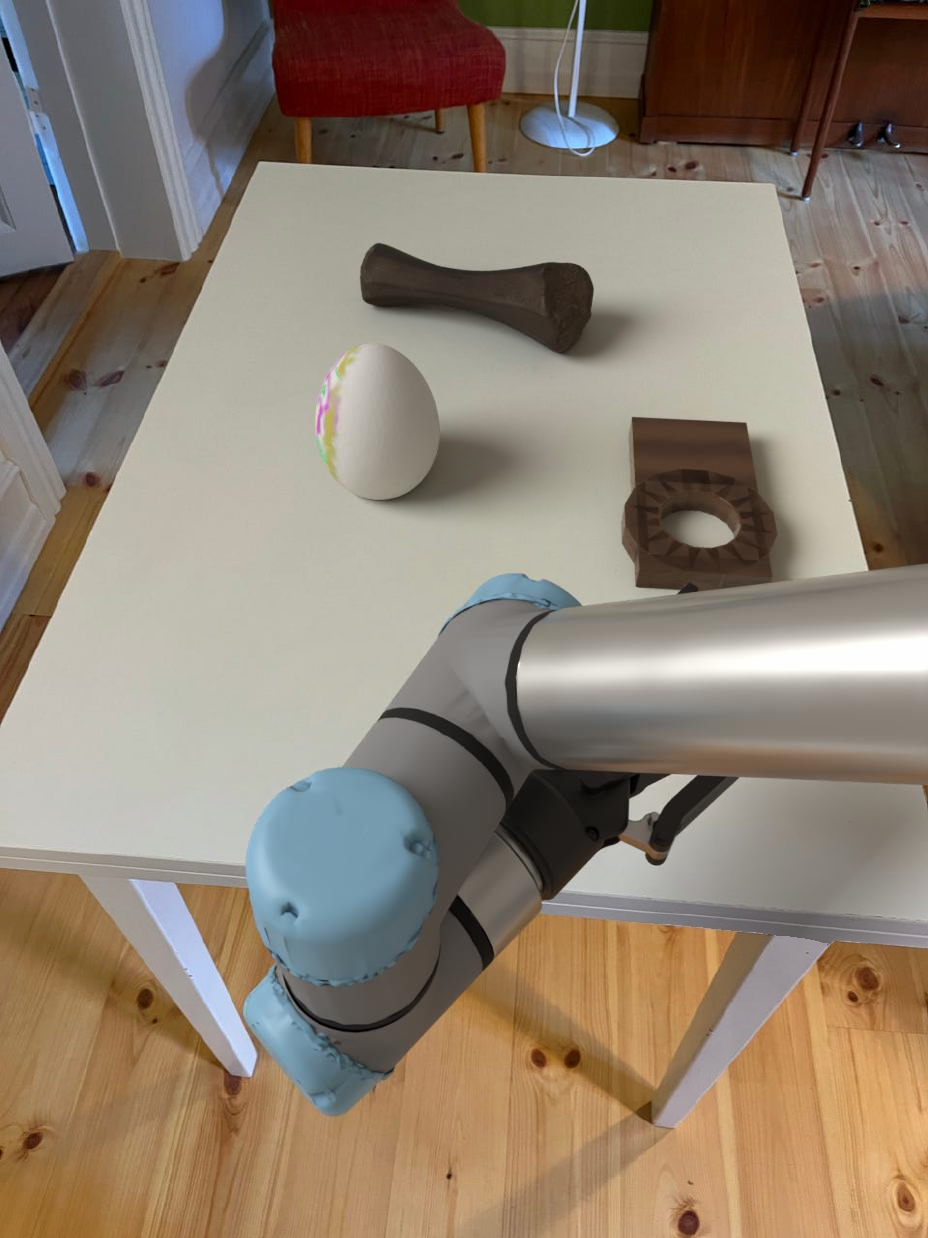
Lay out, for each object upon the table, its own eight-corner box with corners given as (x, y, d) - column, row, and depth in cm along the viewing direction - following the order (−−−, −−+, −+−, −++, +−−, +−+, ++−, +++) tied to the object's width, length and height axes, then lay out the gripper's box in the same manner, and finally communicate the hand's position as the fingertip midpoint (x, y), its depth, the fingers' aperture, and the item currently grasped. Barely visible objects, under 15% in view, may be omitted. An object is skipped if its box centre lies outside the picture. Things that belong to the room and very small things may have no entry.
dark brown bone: (592, 351, 113) (386, 329, 122) (602, 259, 110) (389, 243, 119) (567, 357, 104) (346, 333, 113) (578, 257, 100) (348, 240, 109)
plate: (778, 596, 86) (786, 578, 84) (623, 587, 86) (626, 569, 84) (751, 441, 100) (757, 422, 98) (618, 434, 100) (621, 415, 98)
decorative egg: (356, 424, 102) (341, 301, 90) (459, 452, 99) (457, 328, 87) (301, 495, 94) (278, 371, 83) (410, 528, 91) (402, 404, 80)
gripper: (387, 783, 59) (614, 587, 70) (626, 1000, 50) (844, 739, 61) (377, 718, 53) (626, 515, 64) (646, 949, 45) (883, 671, 55)
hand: (732, 625), depth 62 cm, fingers closed on pill bottle, 6 cm apart
